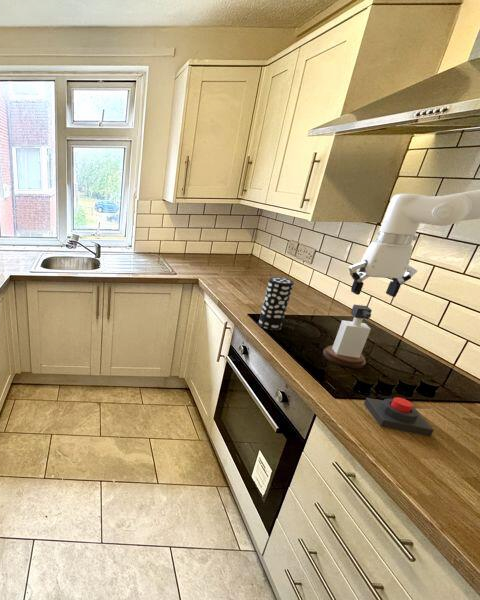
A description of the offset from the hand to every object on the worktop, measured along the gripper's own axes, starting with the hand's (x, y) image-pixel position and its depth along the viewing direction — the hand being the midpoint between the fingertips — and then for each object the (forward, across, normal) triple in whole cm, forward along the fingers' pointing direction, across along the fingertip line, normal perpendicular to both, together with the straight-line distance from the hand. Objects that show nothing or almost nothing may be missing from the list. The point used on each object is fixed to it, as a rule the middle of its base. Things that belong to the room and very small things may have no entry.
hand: (372, 294), depth 97 cm
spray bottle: (+24, 0, -3) cm, 24 cm away
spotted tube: (+25, +15, -25) cm, 39 cm away
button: (+21, +3, +27) cm, 35 cm away
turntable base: (+25, 0, -2) cm, 25 cm away
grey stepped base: (+25, +3, +27) cm, 37 cm away
